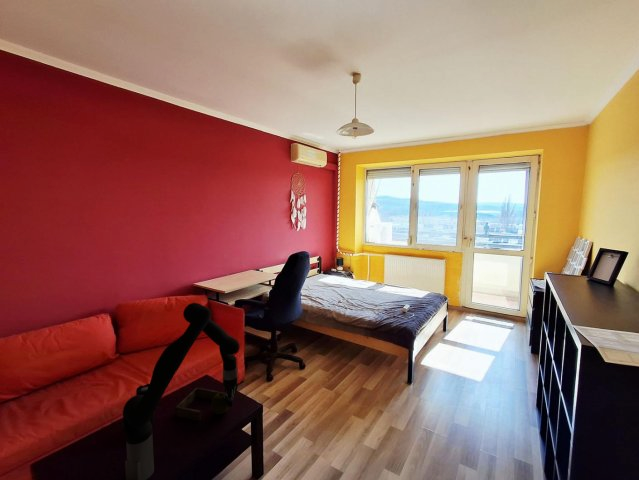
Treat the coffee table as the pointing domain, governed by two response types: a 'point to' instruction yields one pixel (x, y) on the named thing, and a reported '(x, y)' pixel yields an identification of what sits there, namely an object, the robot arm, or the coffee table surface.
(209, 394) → the frame
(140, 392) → the travel mug
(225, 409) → the apple
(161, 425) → the coffee table surface
